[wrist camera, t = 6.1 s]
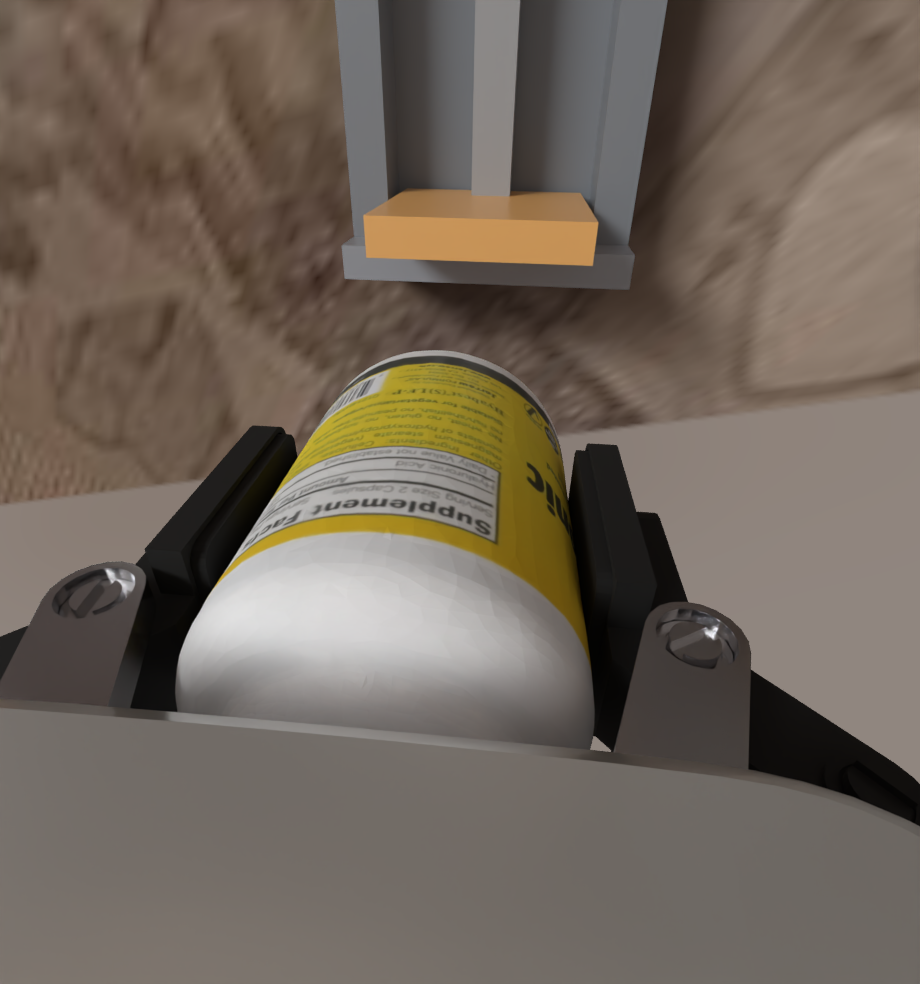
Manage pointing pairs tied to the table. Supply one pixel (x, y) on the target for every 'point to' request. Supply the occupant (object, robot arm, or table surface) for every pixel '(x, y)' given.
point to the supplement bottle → (408, 571)
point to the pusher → (487, 181)
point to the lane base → (537, 128)
